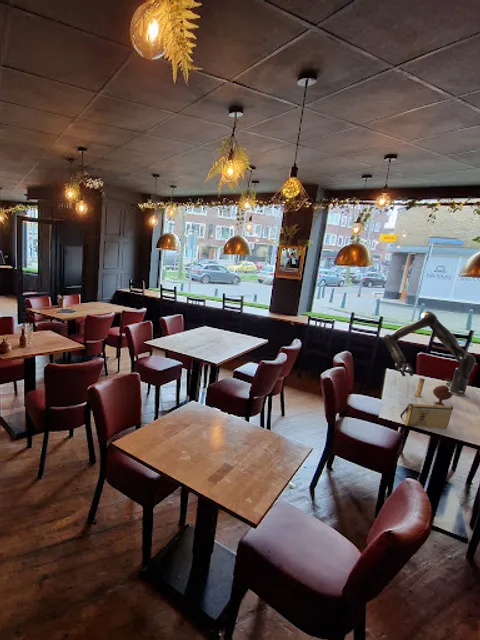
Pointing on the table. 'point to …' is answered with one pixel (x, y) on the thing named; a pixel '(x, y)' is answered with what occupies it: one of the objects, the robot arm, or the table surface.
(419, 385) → the stirring stick
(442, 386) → the ice cream bowl
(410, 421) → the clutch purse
